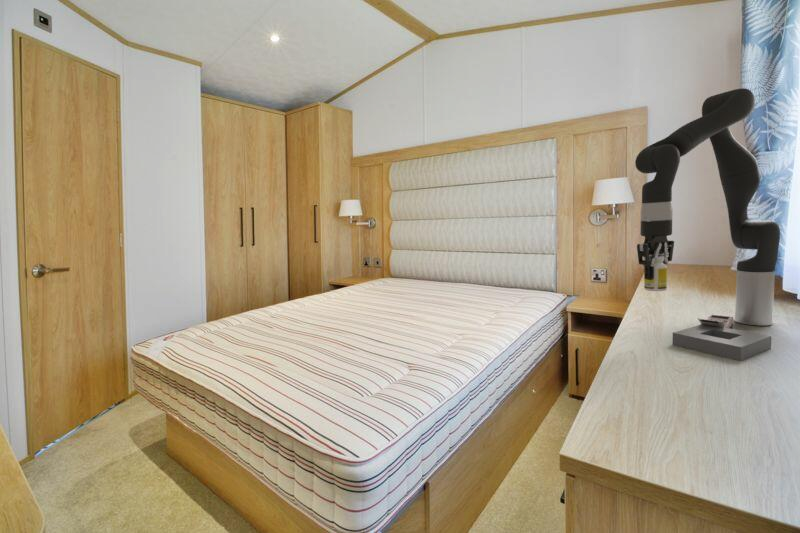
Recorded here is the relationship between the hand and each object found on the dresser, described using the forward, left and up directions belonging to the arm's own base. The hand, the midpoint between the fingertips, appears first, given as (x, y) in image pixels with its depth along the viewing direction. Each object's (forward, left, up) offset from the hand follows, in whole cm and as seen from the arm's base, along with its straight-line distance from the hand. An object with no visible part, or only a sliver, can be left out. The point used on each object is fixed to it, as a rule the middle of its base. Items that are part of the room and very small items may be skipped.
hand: (655, 277), depth 113 cm
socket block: (-10, +12, -19) cm, 25 cm away
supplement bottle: (0, 0, -4) cm, 4 cm away
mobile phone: (-26, +4, -19) cm, 33 cm away
